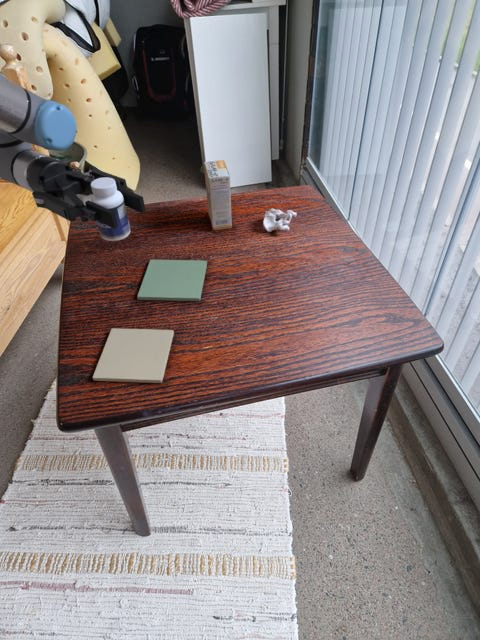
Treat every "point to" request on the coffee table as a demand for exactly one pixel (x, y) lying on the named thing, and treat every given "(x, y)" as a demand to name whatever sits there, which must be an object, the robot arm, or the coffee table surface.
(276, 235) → the coffee table surface
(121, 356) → the cream mat
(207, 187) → the supplement box
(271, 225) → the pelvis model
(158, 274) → the sage mat
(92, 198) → the pill bottle
